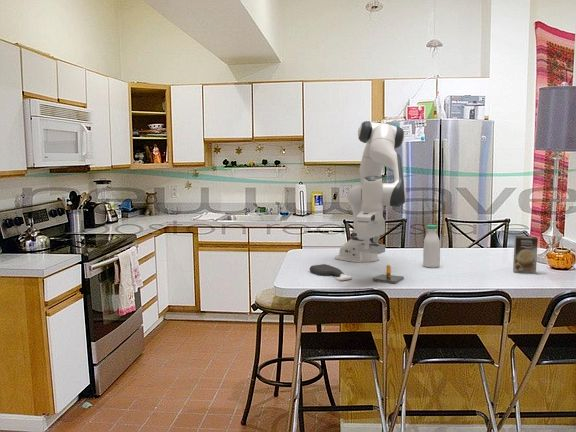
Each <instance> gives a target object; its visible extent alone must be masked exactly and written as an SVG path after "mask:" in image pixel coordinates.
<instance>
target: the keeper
mask: <svg viewBox="0 0 576 432" xmlns="http://www.w3.org/2000/svg"><path fill="white" fill-rule="evenodd" d="M385 267H386V269H385V270H386V273H385V274H384V273H380V274H379V275H377V276H375V277H374V278H372V282H377V283H384V284H391V285H396V284H398V283H399V282H401V281H403V280H404V279H405V277H404V276H405V275H404V276H401V275H395V274H392V272H391V271H392V267H391V265H390V264H388V265H386V266H385Z"/></svg>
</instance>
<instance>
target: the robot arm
mask: <svg viewBox="0 0 576 432" xmlns="http://www.w3.org/2000/svg"><path fill="white" fill-rule="evenodd" d="M357 136H358V140H359V141H360V142H361V143H363V144H365V146H364V149H363V152H362V156H361V157H362V158H361V161H360V164H359V169H358V170H359V174H360V183H359V184H356V185H354V186H352V187H350V189H348V191H347V194H346V197H347V198H346V199H347V201H348V203H349V204H350V207H351V210H352V216H353V231H352V232H351V233H349V235H348V236H349V237H350V239H348V241H346V242H345V243H343V244H342V245H341V246H340V248H339V253H338V254H337V255H335V256H334V259H335V260H338V261H339V260H340V261H347V262H352V263H365V262H366V263H367V262H376V261H378V260H379V257H378V254H374V253H366V252H358V251H357V244H360V243H364V244H365V249H370V245H369V243H374V244H379V241H380V236H383V235H385V233H386V219H385V218H384V215H383V214H384V206H385V207H393V208H399V207H401V206H403V205H404V204H405V203H406V201H407V189H406V187H405V181H404V180H405V179H404V173H403V172H404V170H403V164H402V157H401V155H400V154H399V153H398V152H396V150H395V149H398V148H400V147H401V145H402V144H403V142H404V140H405V131H404V129H403V128H402V127H399V126H397V125H396V126H395V125H392V124H390V123H389V124H388V123H385V122H384V123H383V122H376V121H375V122H374V121H369V120H368V121H367V120H365V121H363V122H361V124H360V125H359V127H358V130H357ZM383 167H386V168H388V169H390V170H392V171H393V178H394V179H393V180H394V182H391V183H390V182H389V183H386V182H385V183H383V179H382V171H383Z"/></svg>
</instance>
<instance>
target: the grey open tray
mask: <svg viewBox="0 0 576 432" xmlns="http://www.w3.org/2000/svg"><path fill="white" fill-rule="evenodd" d="M369 245H370V249H365V244H364V243H360V244H357V251H358V252H366V253H374V254H377V255H380V254H382V253H385V252H386V244H382V243H381V244H380V243H378V244H374V243H369Z"/></svg>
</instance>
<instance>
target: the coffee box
mask: <svg viewBox="0 0 576 432" xmlns="http://www.w3.org/2000/svg"><path fill="white" fill-rule="evenodd" d="M538 239H539V238H538V237H537V236H526V235H524V236H523V235H515V236H514V242H513V243H514V244H513V245H514V246H513V265H512V271H513V272H514V273H516V274H527V273H529V274H531V275H536V274H537V262H538V261H537V259H538V257H537V256H538V243H539V240H538Z"/></svg>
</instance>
